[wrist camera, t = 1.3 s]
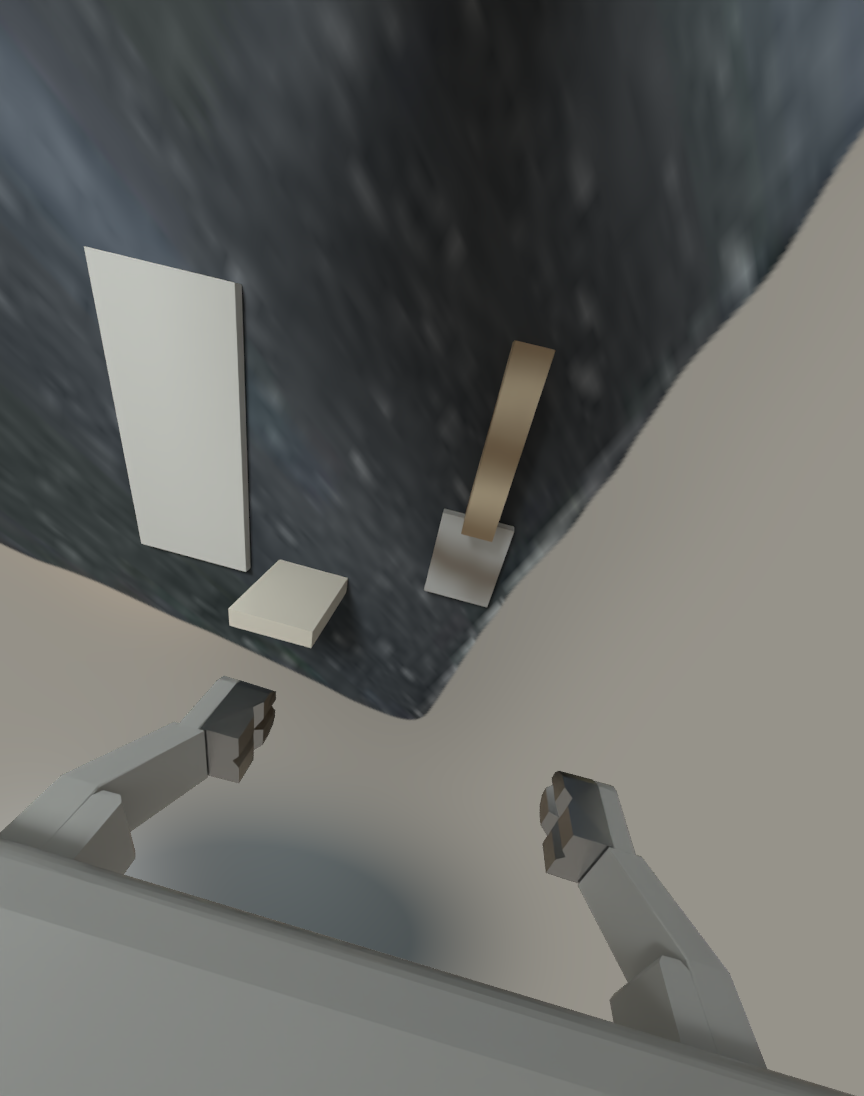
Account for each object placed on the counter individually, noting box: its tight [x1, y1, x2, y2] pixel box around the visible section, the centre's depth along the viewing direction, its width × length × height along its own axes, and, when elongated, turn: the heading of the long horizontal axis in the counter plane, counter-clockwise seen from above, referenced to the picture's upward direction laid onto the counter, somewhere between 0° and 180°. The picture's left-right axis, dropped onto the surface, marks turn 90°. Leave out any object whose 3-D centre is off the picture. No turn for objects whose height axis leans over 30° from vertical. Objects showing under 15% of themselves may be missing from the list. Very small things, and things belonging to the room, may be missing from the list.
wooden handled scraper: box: [424, 340, 555, 607], centre depth 29 cm, size 21×6×4 cm, turn 168°
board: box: [84, 246, 251, 572], centre depth 32 cm, size 24×11×1 cm, turn 168°
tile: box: [228, 560, 348, 648], centre depth 34 cm, size 2×7×8 cm, turn 78°
